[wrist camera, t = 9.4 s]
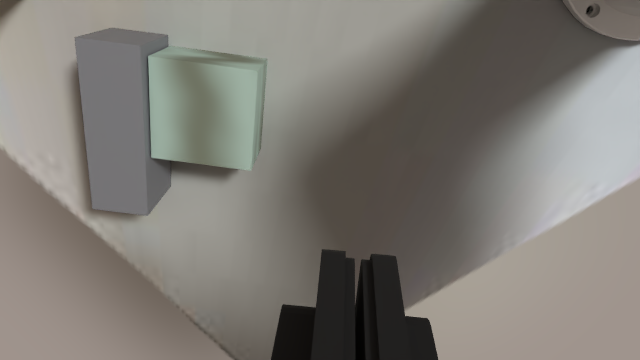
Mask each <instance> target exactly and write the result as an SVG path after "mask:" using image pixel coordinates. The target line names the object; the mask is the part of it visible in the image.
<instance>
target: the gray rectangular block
mask: <svg viewBox="0 0 640 360" xmlns="http://www.w3.org/2000/svg"><path fill="white" fill-rule="evenodd" d="M75 45H76V55H77V65H78V74H79V84H80V94H81V103H82V113H83V123H84V132H85V142H86V152H87V161H88V171H89V181H90V190H91V200H92V209H97V210H105V211H113V212H121V213H129V214H138V215H146V216H148V215H149V214H150V212H151V211H152V210H153V208H154V207H155V206H156V205H157V203H158V202H159V201H160V199H161V198H162V197H163V196H164V194H165V193H166V192H167V190H168V189H169V188H170V186H171V167H170V160H165V159H158V158H151V131H150V98H149V66H148V56H149V55H152V54H154V53H156V52H158V51H161V50H163V49H165V48H167V47H168V35H162V34H155V33H147V32H139V31H132V30H124V29H116V28H109V29H105V30H101V31H98V32H94V33H90V34H86V35H82V36H78V37H75Z"/></svg>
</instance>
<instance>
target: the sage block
mask: <svg viewBox="0 0 640 360" xmlns="http://www.w3.org/2000/svg"><path fill="white" fill-rule="evenodd" d="M148 66H149V98H150V131H151V158H158V159H165V160H173V161H181V162H188V163H196V164H203V165H211V166H219V167H226V168H234V169H241V170H249V171H251V170H252V167H253V165H254V163H255V160H256V158H257V156H258V154H259V151H260V149H261V136H262V123H263V110H264V98H265V85H266V72H267V59H263V58H256V57H248V56H241V55H234V54H226V53H219V52H212V51H205V50H197V49H190V48H183V47H175V46H169V47H167V48H165V49H163V50H161V51H158V52H156V53H154V54H152V55H149V56H148Z"/></svg>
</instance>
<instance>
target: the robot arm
mask: <svg viewBox="0 0 640 360" xmlns="http://www.w3.org/2000/svg"><path fill="white" fill-rule="evenodd" d="M563 2H564V4H565V5H566V7H567V8H568V9H569V11H570V12H571V14H572V15H573V16H574V17H575V18H576V19H577V20H578V21H580V22H581V23H582V24H583V25H584V26H586V27H587V28H589V29H591V30H593V31H595V32H597V33H599V34H601V35H605V36H609V37H612V38H615V39H623V40H630V41H639V40H640V0H563ZM588 6H589V7H590V10H589V12H588V13H586V10H587V8H588ZM345 257H346V252H345V251H335V250H324V249H322V255H321V265H320V274H319V284H318V294H317V303H316V308H315V307H304V306H294V305H284V304H283V305H282V309H281V313H280V318H279V323H278V328H277V332H276V337H275V342H274V347H273V352H272V357H271V360H438V357H437V352H436V348H435V343H434V338H433V333H432V329H431V325H430V322H429V320H428V319H427V318H419V317H409V316H405V313H404V306H403V300H402V293H401V286H400V280H399V273H398V266H397V260H396V257H395V256H389V255H378V254H371V257H370V260H363V259H362V260H361V266H360V273H359V281H358V289H357V296H356V304H355V261H354V259H352V258H345Z"/></svg>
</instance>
